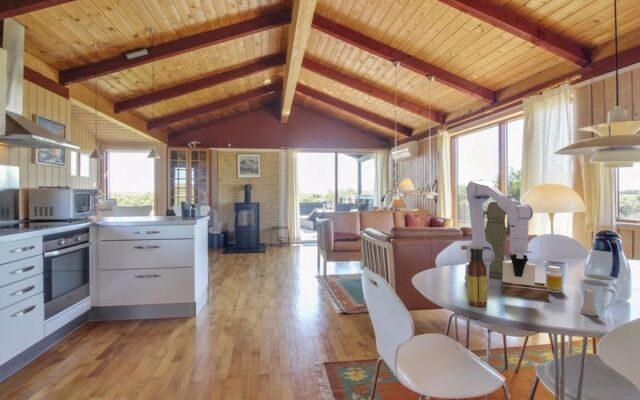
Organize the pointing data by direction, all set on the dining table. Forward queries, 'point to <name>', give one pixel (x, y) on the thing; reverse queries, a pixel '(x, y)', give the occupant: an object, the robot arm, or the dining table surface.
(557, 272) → the supplement bottle
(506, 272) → the beige rectangular block
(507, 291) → the rack
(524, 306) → the dining table surface
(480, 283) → the sauce bottle
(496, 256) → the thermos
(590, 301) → the rook chess piece
